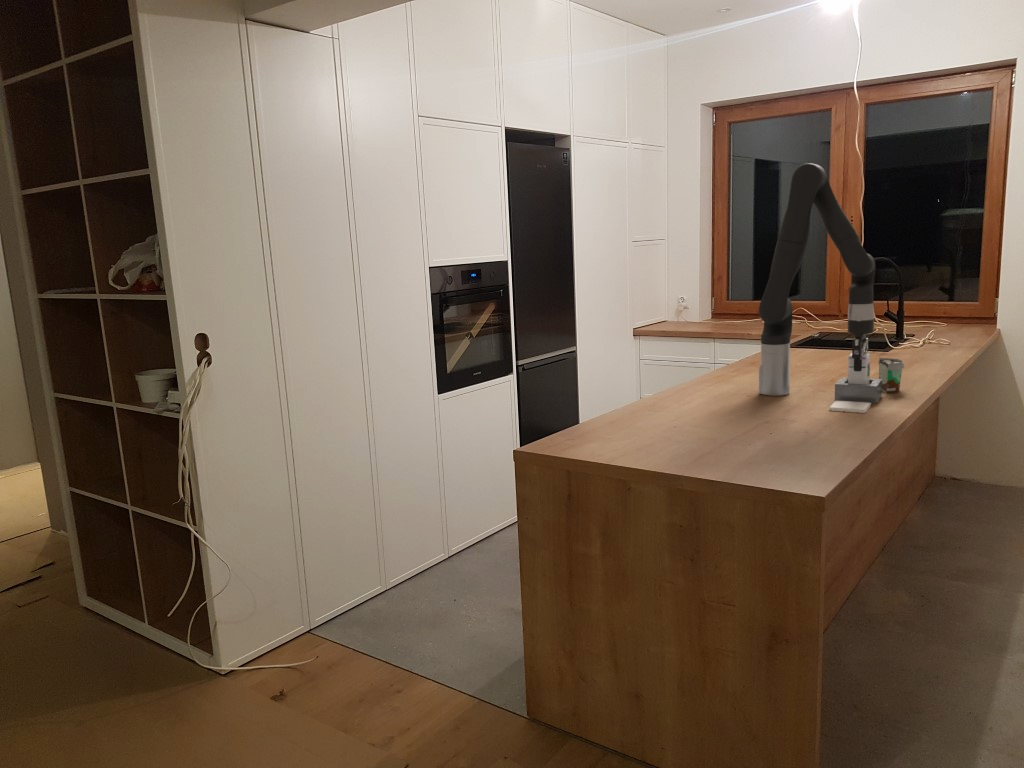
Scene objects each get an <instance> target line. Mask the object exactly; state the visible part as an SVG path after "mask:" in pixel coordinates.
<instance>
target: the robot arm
mask: <svg viewBox="0 0 1024 768" xmlns="http://www.w3.org/2000/svg"><path fill="white" fill-rule="evenodd" d="M813 205H814V206H815V208H816V210H817V211H818V213H819V215H820V217H821V220H822V223H823V225H824V228H825V230H826V232H827V233H828V235H829V237H830V239H831V241H832V242H833V244H834V245H835V247H836V249H837V251H838V252H839V253H840V256H841V258H842V261H843V263H844V265H845V267H846V269H847V271H848V272H849V273H850V275H851V278H850V279H851V280H850V281H851V282H850V287H849V288H848V289H849V290H848V307H847V333H848V334H850V335H854V338H852V339H851V342H852V344H851V345H852V346H851V347H852V348H851V353H852V358H853V359H854V371H861V370H862V355H863V353H869V352H868V351H869V334H873V333H874V331H875V307H874V283H875V275H876V262H875V258H874V257H873V256H872V255H871V254H870V253H867V252H866V250H865V248H864V246H863V245H862V243H861V238H860V236H859V234H858V233H857V231H856V228H855V227H854V226H853V224H852V222H851V221H850V219H849V218H848V216H847V215H846V213H845V212H844V210H843V209H842V206H841V205H840V204H839V201H838V200H837V198H836V196H835V193H834V191H833V190H832V187H831V185H830V181H829V178H828V176H827V173H826V170H825V169H824V168H823V167H822V166H821V165H819V164H815V163H811V162H809V163H808V162H807V163H803V164H801V165H799V166H798V167H797V168H796V169H795V171H794V172H793V174H792V177H791V183H790V189H789V196H788V201H787V207H786V211H785V213H784V217H783V219H782V224H781V227H780V229H779V233H778V236H777V241H776V243H775V244H776V245H775V248H774V254H773V257H772V258H773V259H772V262H771V266H770V272H769V278H768V280H767V284H766V287H765V288H764V289H765V290H764V292H763V295H762V297H761V300H760V302H759V304H758V305H759V306H758V313H759V317H760V318H761V320H762V321H763V331H762V333H761V335H760V365H759V366H758V394H760V395H765V396H775V397H776V396H787V395H789V394H790V389H791V388H790V387H791V385H790V383H791V382H790V381H791V379H790V378H791V377H790V376H791V373H790V372H791V371H790V367H791V366H790V365H791V336H792V331H793V315H794V314H793V312H794V310H793V304H792V301H791V299H790V298H789V295H790V290H791V286H792V283H793V281H794V279H795V276H796V274H797V273H798V271H799V269H800V267H801V265H802V263H803V260H804V257H805V254H806V250H807V247H808V243H809V239H810V238H809V237H810V229H811V214H812V213H811V212H812V209H813ZM856 353H859V354H856Z"/></svg>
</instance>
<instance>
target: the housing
mask: <svg viewBox="0 0 1024 768" xmlns="http://www.w3.org/2000/svg"><path fill="white" fill-rule="evenodd" d="M882 393H883V390H882V379H879V378H870V385H869V384H850V383H848V376H846V377H844V376H841V378H840V379H838V381H837V382H835V384H834V402H835V401H852V402H868V403H871V404H874V405H875V404H877V403H878V402H879V400H880V399H881V397H882V396H883V395H882Z"/></svg>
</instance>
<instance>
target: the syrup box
mask: <svg viewBox="0 0 1024 768" xmlns="http://www.w3.org/2000/svg"><path fill="white" fill-rule="evenodd" d="M856 354H859V353H856ZM847 362H848V363H847V377H848V383H850V384H869V385H870V379H871V378H870V377H871V376H870V375H871V353H869V352H867V353H863V355H862V370H861V371H854V359H853V358H852V352H851V353H850V354H849V355H847Z"/></svg>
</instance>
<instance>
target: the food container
mask: <svg viewBox="0 0 1024 768" xmlns="http://www.w3.org/2000/svg"><path fill="white" fill-rule="evenodd" d="M878 359H879V360H878V379H882V392H884V393H885V392H886V394H897V393H899V392H900V390H901V389H900V387H901V380H902V373H903V369H905V365H904V361H903V359H898V358H892V357H891V358H890V357H889V358H888V357H879V358H878Z"/></svg>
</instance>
